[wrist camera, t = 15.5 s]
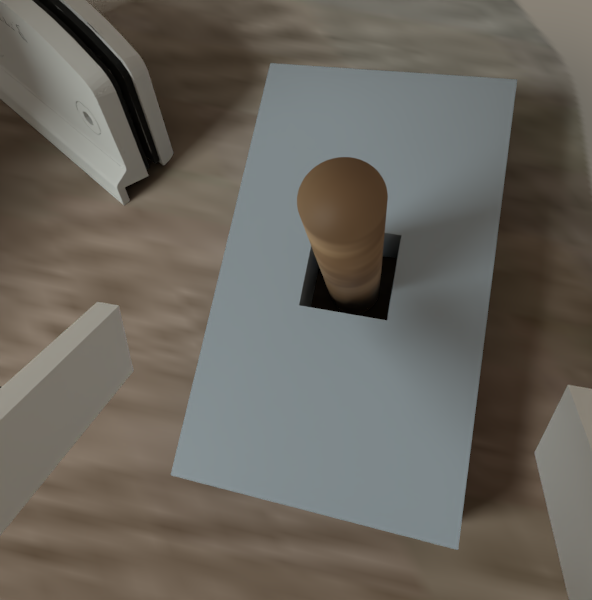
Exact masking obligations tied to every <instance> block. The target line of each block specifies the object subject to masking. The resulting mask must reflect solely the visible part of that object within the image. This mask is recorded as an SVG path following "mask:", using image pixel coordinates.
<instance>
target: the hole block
mask: <svg viewBox="0 0 592 600" xmlns="http://www.w3.org/2000/svg"><path fill="white" fill-rule="evenodd" d="M516 85H517V79H501V78H486V77H471V76H456V75H441V74H426V73H411V72H396V71H381V70H366V69H351V68H336V67H321V66H306V65H290V64H275V63H270V67H269V71H268V75H267V79H266V83H265V87H264V92H263V96H262V100H261V104H260V108H259V112H258V116H257V120H256V125H255V129H254V133H253V137H252V141H251V145H250V149H249V154H248V158H247V162H246V166H245V170H244V174H243V178H242V183H241V187H240V191H239V195H238V199H237V203H236V207H235V211H234V216H233V220H232V224H231V228H230V232H229V236H228V240H227V245H226V249H225V253H224V257H223V261H222V265H221V269H220V273H219V278H218V282H217V286H216V290H215V294H214V298H213V302H212V307H211V311H210V315H209V319H208V323H207V327H206V331H205V335H204V340H203V344H202V348H201V352H200V356H199V360H198V364H197V369H196V373H195V377H194V381H193V385H192V389H191V393H190V397H189V402H188V406H187V410H186V414H185V418H184V422H183V426H182V431H181V435H180V439H179V443H178V447H177V451H176V455H175V459H174V464H173V468H172V472H171V475H172V476H176V477H180V478H184V479H188V480H191V481H195V482H199V483H203V484H207V485H211V486H214V487H218V488H222V489H226V490H230V491H234V492H237V493H241V494H245V495H249V496H253V497H257V498H260V499H264V500H268V501H272V502H276V503H280V504H284V505H287V506H291V507H295V508H299V509H303V510H307V511H310V512H314V513H318V514H322V515H326V516H330V517H333V518H337V519H341V520H345V521H349V522H353V523H356V524H360V525H364V526H368V527H372V528H376V529H380V530H383V531H387V532H391V533H395V534H399V535H403V536H406V537H410V538H414V539H418V540H422V541H426V542H429V543H433V544H437V545H441V546H445V547H449V548H453V549H456V550H458V546H459V538H460V530H461V522H462V514H463V506H464V498H465V490H466V482H467V474H468V466H469V458H470V451H471V443H472V435H473V427H474V419H475V411H476V403H477V395H478V387H479V379H480V371H481V363H482V355H483V347H484V339H485V331H486V323H487V315H488V307H489V299H490V291H491V284H492V276H493V268H494V260H495V252H496V244H497V236H498V228H499V220H500V212H501V204H502V196H503V188H504V180H505V172H506V164H507V156H508V148H509V140H510V132H511V125H512V117H513V109H514V101H515V93H516ZM338 157H351V158H356V159H360V160H362V161H365V162H367V163H368V164H370V165H371V166H373V167H374V168H375V169H376V170H377V171H378V172H379V173H380V175H381V176H382V178H383V180H384V182H385V184H386V187H387V193H388V201H387V212H386V223H385V234H384V246H383V256H384V257H391V258H397V261H396V267H395V273H394V279H393V285H392V290H391V296H390V302H389V308H388V314H387V320H382V319H376V318H370V317H364V316H359V315H353V314H347V313H341V312H335V311H329V310H324V309H318V308H312V307H311V305H312V300H313V295H314V290H315V285H316V280H317V275H318V270H319V265H318V262H317V260H316V257H315V254H314V252H313V249H312V247H311V244H310V241H309V239H308V236H307V234H306V231H305V228H304V226H303V223H302V220H301V218H300V215H299V212H298V208H297V195H298V191H299V187H300V185H301V183H302V181H303V179H304V178H305V176H306V175H307V174H308V173H309V172H310V171H311V170H312V169H313V168H314V167H316V166H317V165H319V164H320V163H322V162H324V161H326V160H329V159H333V158H338Z"/></svg>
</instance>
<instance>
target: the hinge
mask: <svg viewBox="0 0 592 600" xmlns="http://www.w3.org/2000/svg"><path fill="white" fill-rule="evenodd" d="M0 99H1V100H2V101H3V102H5V103H6V104H7V105H8V106H9V107H10V108H12V109H13V110H14V111H15V112H16V113H17V114H19V115H20V116H21V117H22V118H23V119H24V120H26V121H27V122H28V123H29V124H30V125H31V126H32V127H34V128H35V129H36V130H37V131H38V132H39V133H41V134H42V135H43V136H44V137H45V138H46V139H48V140H49V141H50V142H51V143H52V144H53V145H55V146H56V147H57V148H58V149H59V150H60V151H61V152H63V153H64V154H65V155H66V156H67V157H68V158H70V159H71V160H72V161H73V162H74V163H75V164H77V165H78V166H79V167H80V168H81V169H82V170H83V171H85V172H86V173H87V174H88V175H89V176H90V177H92V178H93V179H94V180H95V181H96V182H97V183H99V184H100V185H101V186H102V187H103V188H104V189H106V190H107V191H108V192H109V193H110V194H111V195H112V196H114V197H115V198H116V199H117V200H118V201H119V202H121V203H122V204H123V205H126V204H127V203H128V202H129V201H130V200H129V197H128V195H127V192H126V189H125V187H127V186H129V185H131V184H133V183H135V182H137V181H139V180H141V179H143V178H145V177H147V176H149V175H148V173H147V169H148V168H150V166H149V164H148V161H147V158H149V159H150V160H151V161H152V162H154V163H157V162H160V163H161V164H162V165H165V164H166V163H167V162H168V161H169V160H170V159H171V157H172V155H173V154H174V153H173V150H172V146H171V143H170V140H169V137H168V134H167V130H166V127H165V124H164V121H163V118H162V114H161V111H160V108H159V105H158V102H157V98H156V95H155V92H154V89H153V85H152V82H151V79H150V76H149V73H148V70H147V67H146V65H145V63H144V61H143V60H142V58H141V57H140V55H139V54H138V53H137V52H136V51H135V49H134V48H133V47H132V46H131V45H130V44H129V43H128V42H127V41H126V39H125V38H124V37H123V36H122V35H121V34H120V33H119V32H118V31H117V30H116V29H115V28H114V27H113V26H112V25H111V24H110V23H109V22H108V21H107V20H106V19H105V18H104V17H103V16H102V15H101V14H100V13H99V12H98V11H97V10H96V9H95V8H94V7H93V6H91V5H90V4H89V3H88V2H87V1H86V0H0ZM146 157H147V158H146Z"/></svg>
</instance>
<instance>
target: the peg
mask: <svg viewBox="0 0 592 600" xmlns="http://www.w3.org/2000/svg"><path fill="white" fill-rule="evenodd" d="M387 201H388V193H387V187H386V184H385V182H384V180H383V178H382V176H381V175H380V173H379V172H378V171H377V170H376V169H375V168H374V167H373V166H371V165H370V164H368V163H367V162H365V161H362V160H360V159H356V158H351V157H338V158H333V159H329V160H326V161H324V162H322V163H320V164H319V165H317V166H316V167H314V168H313V169H312V170H311V171H310V172H309V173H308V174H307V175H306V176H305V178H304V179H303V181H302V183H301V185H300V187H299V191H298V195H297V208H298V212H299V215H300V218H301V220H302V223H303V226H304V228H305V231H306V234H307V236H308V239H309V241H310V244H311V247H312V249H313V252H314V254H315V257H316V260H317V262H318V265H319V267H320V270H321V273H322V275H323V278H324V281H325V283H326V286H327V288H328V291H329V294H330V296H331V299H332V301H333V303H334V304H335V305H336V306H337V307H338V308H339V309H340V310H342V311H344V312H346V313H350V314H358V313H363V312H365V311H367V310H369V309H370V308H371V307H372V306H373V305H374V304H375V303H376V301H377V299H378V296H379V290H380V279H381V268H382V257H383V246H384V234H385V223H386V212H387Z"/></svg>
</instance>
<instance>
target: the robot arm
mask: <svg viewBox="0 0 592 600" xmlns="http://www.w3.org/2000/svg"><path fill="white" fill-rule="evenodd" d="M133 371H134V370H133V366H132V361H131V357H130V353H129V348H128V344H127V339H126V335H125V330H124V326H123V321H122V317H121V313H120V308H119V306H118V305H113V304H107V303H101V302H97V303H96V304H94V305H93V306H92V307H91V308H90V309H89V310H88V311H87V312H85V313H84V314H83V315H82V316H81V317H80V318H79V319H78V320H76V321H75V322H74V323H73V324H72V325H71V326H70V327H69V328H67V329H66V330H65V331H64V332H63V333H62V334H61V335H60V336H58V337H57V338H56V339H55V340H54V341H53V342H52V343H51V344H50V345H48V346H47V347H46V348H45V349H44V350H43V351H42V352H41V353H39V354H38V355H37V356H36V357H35V358H34V359H33V360H32V361H30V362H29V363H28V364H27V365H26V366H25V367H24V368H23V369H21V370H20V371H19V372H18V373H17V374H16V375H15V376H14V377H13V378H11V379H10V380H9V381H8V382H7V383H6V384H5V385H4V386H2V387H0V535H1V534H2V533H3V531H4V530H5V529H6V528H7V527H8V525H9V524H10V523H11V522H12V520H13V519H14V518H15V517H16V515H17V514H18V513H19V512H20V510H21V509H22V508H23V507H24V506H25V504H26V503H27V502H28V501H29V499H30V498H31V497H32V496H33V494H34V493H35V492H36V491H37V489H38V488H39V487H40V486H41V485H42V483H43V482H44V481H45V480H46V478H47V477H48V476H49V475H50V473H51V472H52V471H53V470H54V469H55V467H56V466H57V465H58V464H59V462H60V461H61V460H62V459H63V457H64V456H65V455H66V454H67V452H68V451H69V450H70V449H71V448H72V446H73V445H74V444H75V443H76V441H77V440H78V439H79V438H80V436H81V435H82V434H83V433H84V431H85V430H86V429H87V428H88V427H89V425H90V424H91V423H92V422H93V420H94V419H95V418H96V417H97V415H98V414H99V413H100V412H101V411H102V409H103V408H104V407H105V406H106V404H107V403H108V402H109V401H110V399H111V398H112V397H113V396H114V394H115V393H116V392H117V391H118V390H119V388H120V387H121V386H122V385H123V383H124V382H125V381H126V380H127V378H128V377H129V376H130V375H131V373H132V372H133ZM535 458H536V462H537V466H538V470H539V475H540V479H541V483H542V487H543V492H544V496H545V500H546V504H547V509H548V513H549V517H550V521H551V526H552V530H553V534H554V538H555V543H556V547H557V551H558V555H559V560H560V564H561V568H562V572H563V577H564V581H565V585H566V589H567V594H568V598H569V600H592V389H589V388H584V387H578V386H572V385H568V386H567V388H566V390H565V392H564V394H563V396H562V398H561V400H560V402H559V404H558V406H557V408H556V410H555V412H554V414H553V416H552V418H551V420H550V422H549V424H548V426H547V428H546V430H545V432H544V434H543V436H542V438H541V440H540V442H539V444H538V446H537V448H536V450H535Z"/></svg>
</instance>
